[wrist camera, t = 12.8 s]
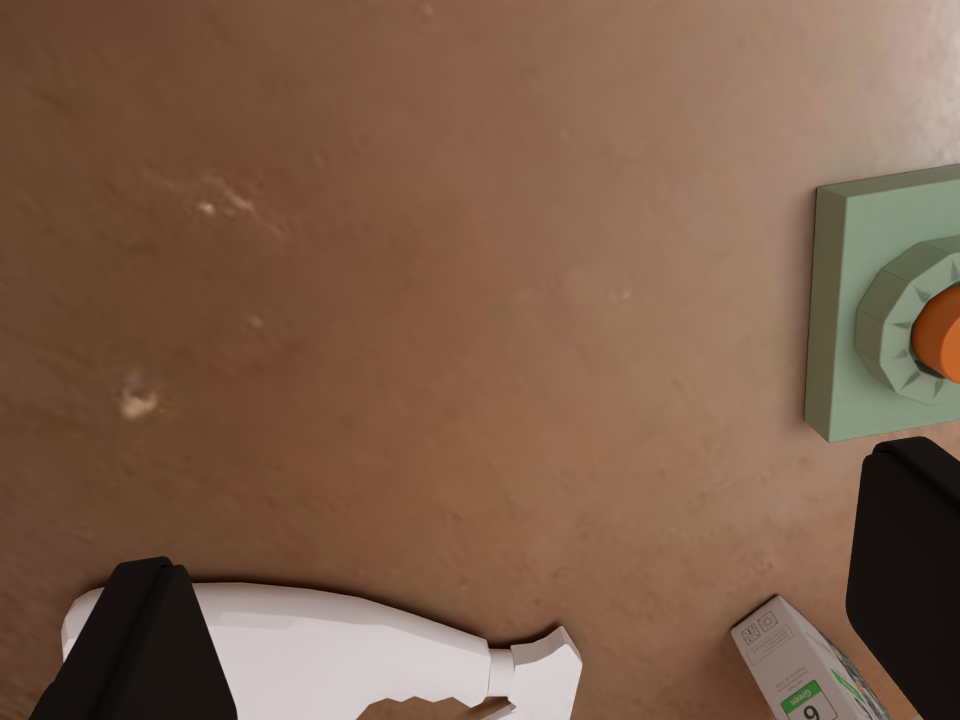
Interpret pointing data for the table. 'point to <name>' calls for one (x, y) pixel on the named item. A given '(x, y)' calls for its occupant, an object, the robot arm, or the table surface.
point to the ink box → (802, 668)
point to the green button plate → (880, 302)
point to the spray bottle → (361, 656)
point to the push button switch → (940, 334)
